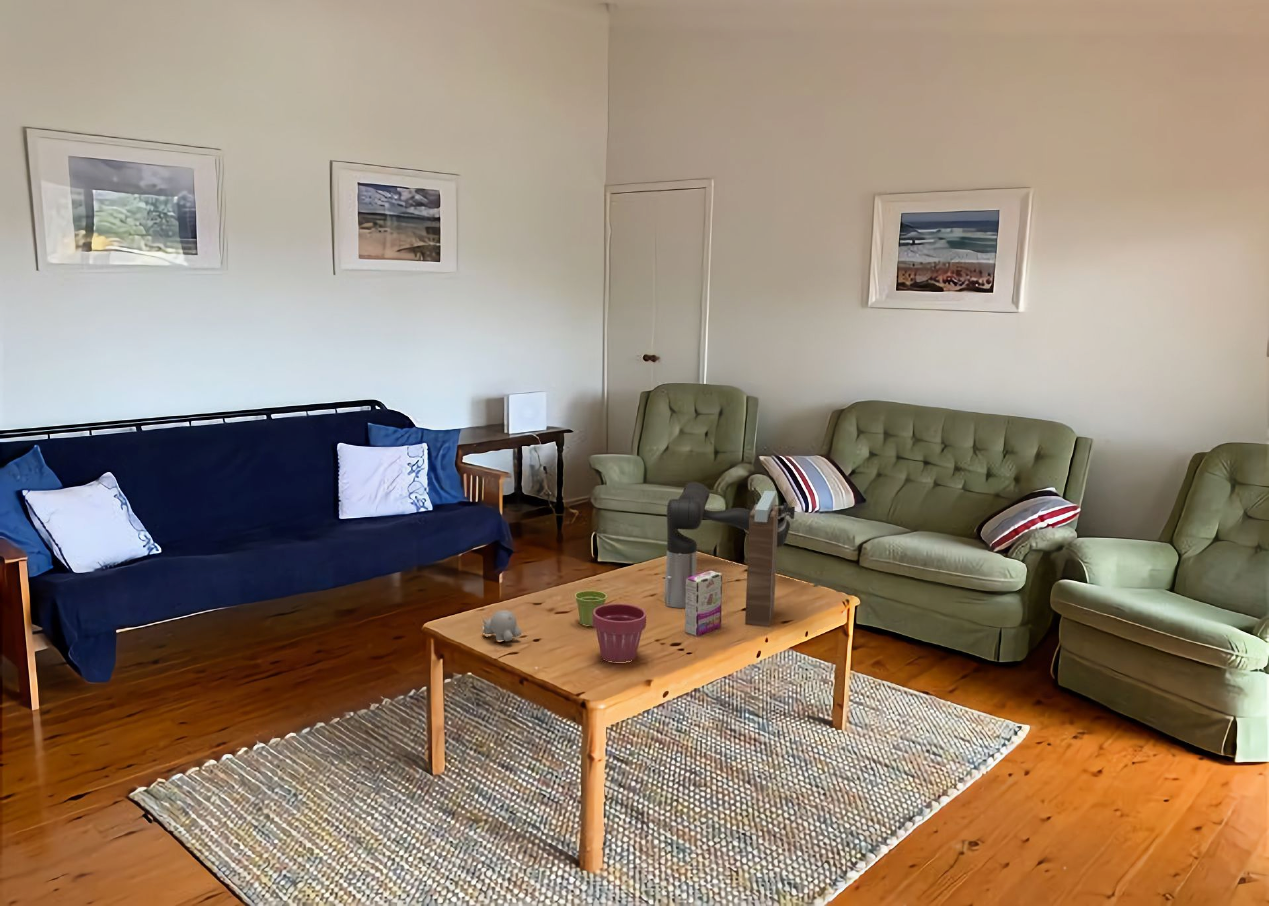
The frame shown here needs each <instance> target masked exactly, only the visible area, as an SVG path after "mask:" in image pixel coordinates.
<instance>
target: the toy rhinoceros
mask: <svg viewBox="0 0 1269 906" xmlns="http://www.w3.org/2000/svg"><path fill="white" fill-rule="evenodd" d="M482 621H483V623H484V624H483V625H482V626H481V627H482V634H483V633H485V634H492V635H494V634H495V640H496V639H497V640H505V642H509V641H511V640H513V639H514V638H517V637H520V636H522V630H521V628H520V627H519V626H518V625H517V618H516V616H515V615H514V613H513V612H511V611H510V610H506V609H501V610H498V611H496V612H495V613H494V614H493V615H492V616H490V617H489V619H482Z"/></svg>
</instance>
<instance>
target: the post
mask: <svg viewBox="0 0 1269 906" xmlns="http://www.w3.org/2000/svg"><path fill="white" fill-rule="evenodd" d="M754 505H755V506H754V508H753V510H752V511H751V513H750V518H749V531H748V544H747V567H746V571H747V572H746V594H745V595H746V596H745V618H744V619H745V621H744V622H745V623H744V624H745V625H746V626H748V625H749V626H758V627H765V628H766V627H768V628H769V627H770V624H771V622H772V618H773V615H774V613H775V594H776V592H775V591H776V575H777V574H776V570H777V551H778V547H777V531H778V506H775V505H776V504H775V505H774V508H773V510H772V512H771V514H770V516H769V518H768V520H767V522H757V521H754V519H755V508H756V506H757V505H758V504H755V503H754Z"/></svg>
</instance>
